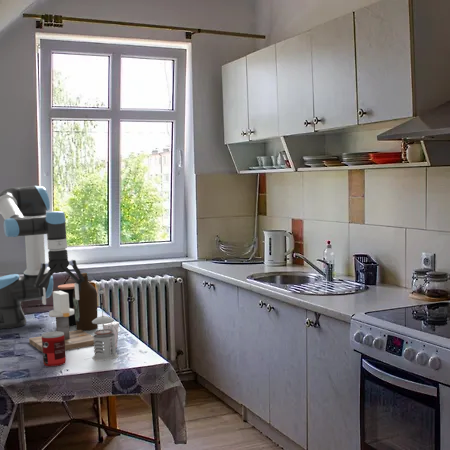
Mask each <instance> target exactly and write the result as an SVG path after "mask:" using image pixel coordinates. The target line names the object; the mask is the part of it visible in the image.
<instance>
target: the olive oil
mask: <svg viewBox="0 0 450 450" xmlns="http://www.w3.org/2000/svg"><path fill="white" fill-rule="evenodd" d="M81 274H82V276H83V277H84V279H85V281H84V282H81V291H79V300H76V299H75V289H74V292H73V302H74V311H75V320H76V325H75V329H76V330H82V331H84V332H87V331H93V330H96V329H97V330H98V327H99V324H93V323H92V321H93V320H94V319H96V318H98V292H97V291H98V290H97V289H96V287H95V286H94V285H93V284H91V282H90V281H89V275H88V272H81Z"/></svg>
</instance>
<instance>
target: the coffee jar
mask: <svg viewBox="0 0 450 450" xmlns="http://www.w3.org/2000/svg"><path fill="white" fill-rule="evenodd" d="M74 284H75V283H66V284H63V283H62V284H60V285H57V289H58V291H63V292H66V293H68V294H69V308H71V309H74V302H73V292H74V289H75V286H74ZM74 313H75V311H74ZM68 318H69V327H73V326H76V320H75V314H73V315H70V316H68Z"/></svg>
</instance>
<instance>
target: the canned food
mask: <svg viewBox="0 0 450 450" xmlns="http://www.w3.org/2000/svg"><path fill="white" fill-rule="evenodd" d="M41 336H42V349H43V352H42V359H43V360H42V361H43V362H42V363H43V365H44V366H45V367H58V366H62V365H65V364H66V361H67V359H66V358H67V356H66V355H67V353H66V350H65V337H64V332H60V331H57V330H55V331H48V332H44V333H42V334H41Z"/></svg>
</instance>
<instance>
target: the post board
mask: <svg viewBox="0 0 450 450" xmlns="http://www.w3.org/2000/svg"><path fill="white" fill-rule="evenodd" d="M55 326H56V331H60V332H64V337H65V351H69V350H74V349H75V350H76V349H80V348H85V347H90V346H91V347H92V346H94V343H95V342H94V339H93V336H94V335H92V334H90V333H87V331H82V330H77V329H76V330H72V331H70V326H69V318H68V317H55ZM28 342H29V345H32V346H33V347H34V348H36V349H37V350H38V351H39V352H41V353H43V349H42V335H41V336H40V335H39V336H35V337H29V338H28Z"/></svg>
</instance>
